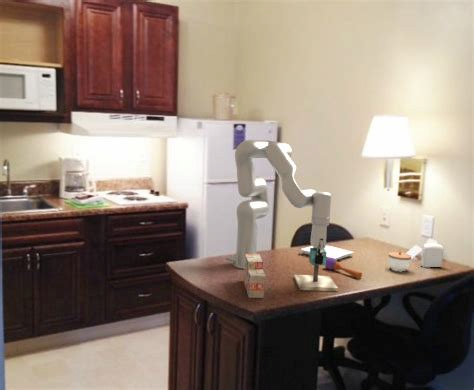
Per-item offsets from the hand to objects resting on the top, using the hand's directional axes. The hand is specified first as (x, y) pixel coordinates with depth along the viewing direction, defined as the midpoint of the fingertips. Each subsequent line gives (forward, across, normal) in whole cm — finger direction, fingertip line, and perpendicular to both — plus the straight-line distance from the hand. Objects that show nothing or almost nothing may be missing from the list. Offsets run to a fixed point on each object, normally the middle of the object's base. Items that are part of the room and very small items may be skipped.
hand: (317, 261), depth 215 cm
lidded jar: (+11, -28, +47) cm, 56 cm away
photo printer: (+11, -36, +67) cm, 77 cm away
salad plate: (+11, -49, +16) cm, 53 cm away
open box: (+1, 0, 0) cm, 1 cm away
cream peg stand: (+10, 0, 0) cm, 10 cm away
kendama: (+11, -19, +16) cm, 27 cm away
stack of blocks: (+11, +9, -28) cm, 31 cm away
